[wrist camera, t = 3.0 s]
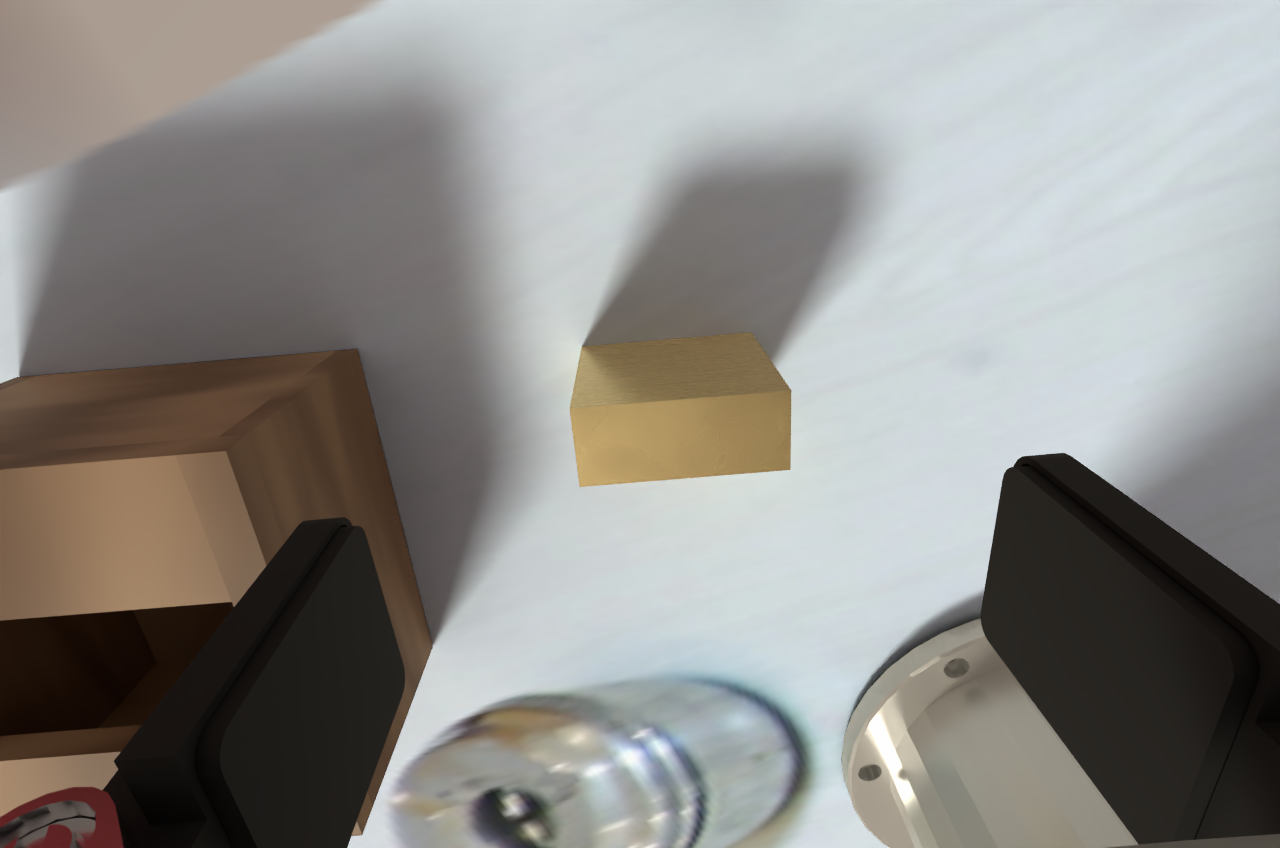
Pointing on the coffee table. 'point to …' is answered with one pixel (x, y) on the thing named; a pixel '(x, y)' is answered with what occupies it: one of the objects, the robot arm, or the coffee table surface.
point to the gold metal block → (679, 410)
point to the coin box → (168, 539)
